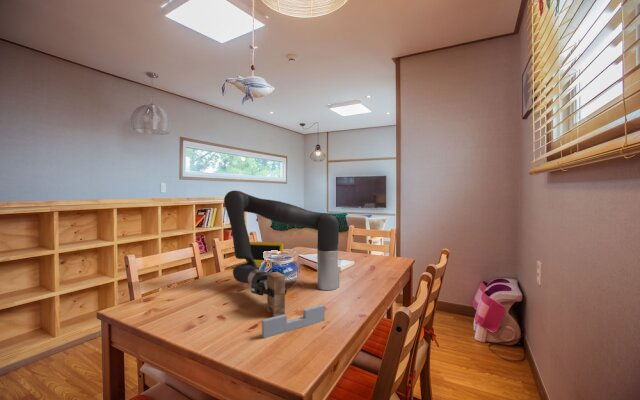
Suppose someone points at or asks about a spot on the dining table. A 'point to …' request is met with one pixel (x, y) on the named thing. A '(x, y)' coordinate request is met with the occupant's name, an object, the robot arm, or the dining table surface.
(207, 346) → the dining table surface
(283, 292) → the walnut block
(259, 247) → the alarm clock
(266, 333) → the slate rail
